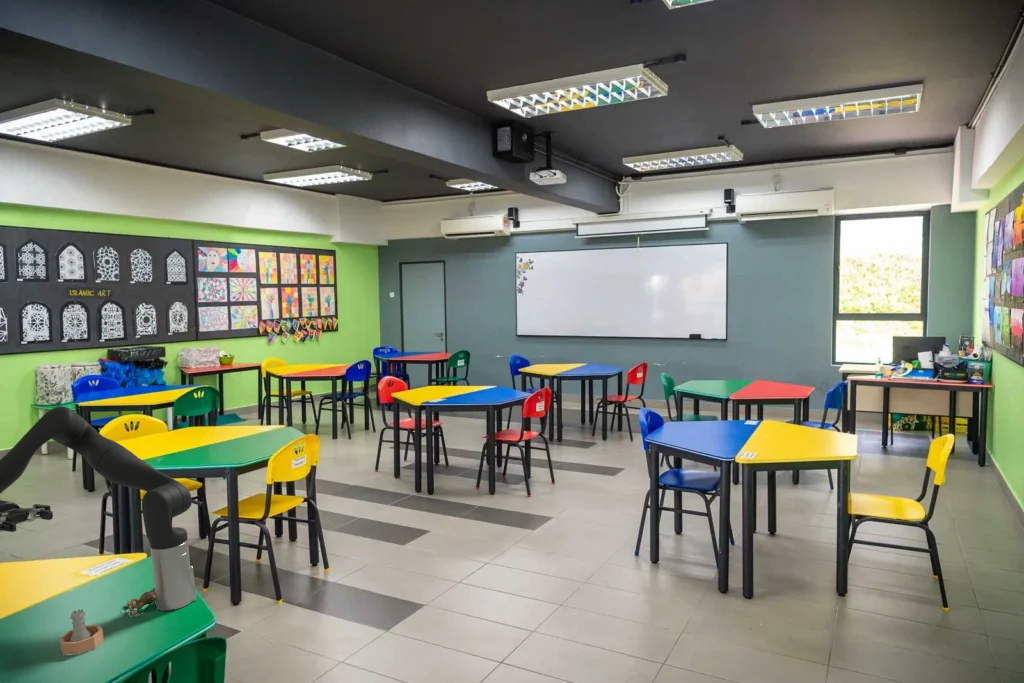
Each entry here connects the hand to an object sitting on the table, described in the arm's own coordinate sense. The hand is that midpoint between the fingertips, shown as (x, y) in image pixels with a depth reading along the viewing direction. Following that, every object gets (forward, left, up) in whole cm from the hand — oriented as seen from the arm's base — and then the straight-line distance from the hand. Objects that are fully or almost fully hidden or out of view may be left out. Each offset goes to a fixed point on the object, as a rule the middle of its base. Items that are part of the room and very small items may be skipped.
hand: (33, 521), depth 168 cm
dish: (-5, +14, -30) cm, 33 cm away
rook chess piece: (-5, +14, -29) cm, 33 cm away
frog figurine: (-22, +2, -31) cm, 38 cm away
